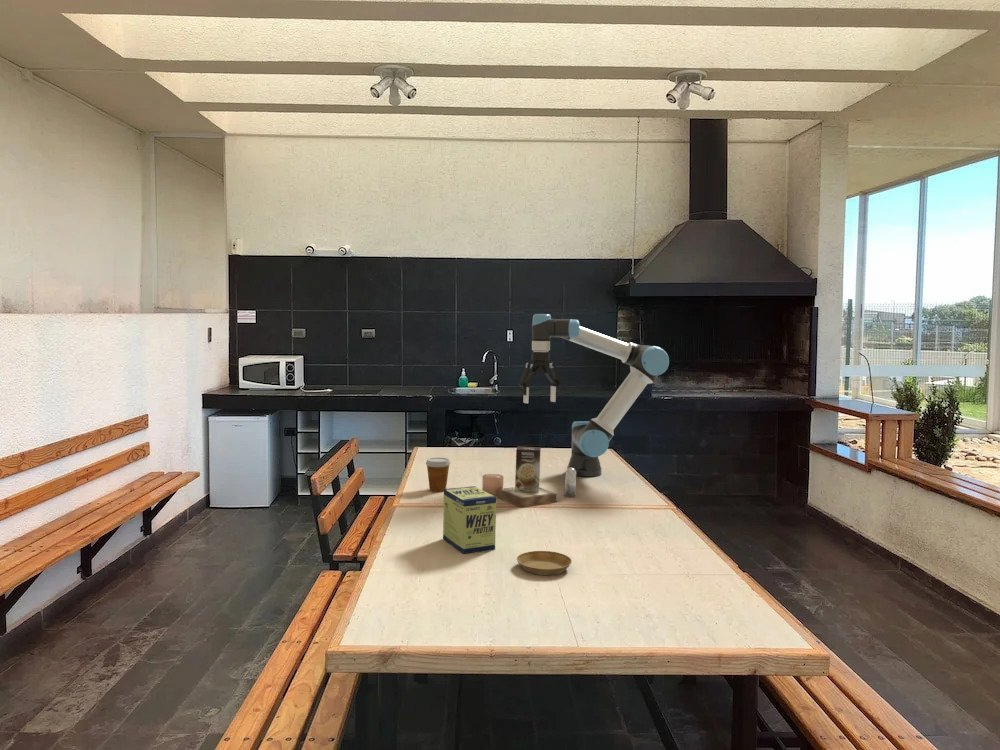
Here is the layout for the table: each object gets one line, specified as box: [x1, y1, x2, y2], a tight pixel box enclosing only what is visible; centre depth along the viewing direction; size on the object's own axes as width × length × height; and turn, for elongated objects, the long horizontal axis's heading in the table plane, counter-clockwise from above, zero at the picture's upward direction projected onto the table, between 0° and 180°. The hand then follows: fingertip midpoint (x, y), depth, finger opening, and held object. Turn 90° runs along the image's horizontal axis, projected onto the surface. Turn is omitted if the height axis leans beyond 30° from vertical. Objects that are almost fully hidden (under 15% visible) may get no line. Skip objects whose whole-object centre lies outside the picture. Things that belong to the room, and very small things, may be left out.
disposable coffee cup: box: [425, 457, 451, 493], centre depth 271 cm, size 10×10×12 cm
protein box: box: [442, 485, 497, 555], centre depth 206 cm, size 10×16×16 cm
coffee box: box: [514, 445, 542, 493], centre depth 259 cm, size 9×6×16 cm
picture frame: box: [496, 486, 558, 508], centre depth 259 cm, size 16×16×3 cm
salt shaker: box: [564, 467, 577, 498], centre depth 266 cm, size 4×4×11 cm
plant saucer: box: [516, 550, 573, 576], centre depth 187 cm, size 15×15×3 cm
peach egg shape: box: [481, 473, 504, 498], centre depth 267 cm, size 8×8×7 cm
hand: (539, 402), depth 290 cm, fingers open, 13 cm apart
